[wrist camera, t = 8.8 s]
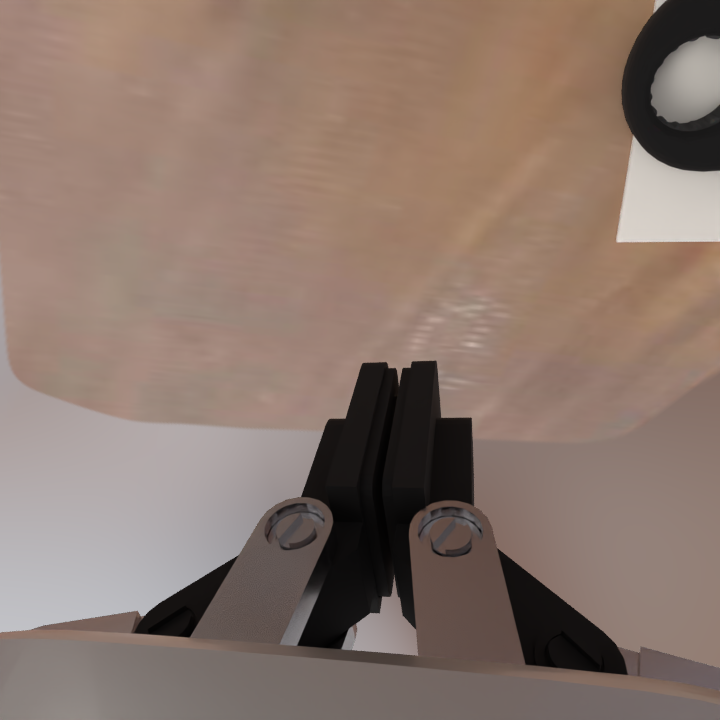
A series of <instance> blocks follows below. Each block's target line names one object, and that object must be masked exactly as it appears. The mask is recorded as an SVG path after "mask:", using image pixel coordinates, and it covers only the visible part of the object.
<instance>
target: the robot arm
mask: <svg viewBox="0 0 720 720" xmlns="http://www.w3.org/2000/svg"><path fill="white" fill-rule="evenodd" d="M473 472H474V471H473V439H472V418H441V410H440V397H439V383H438V370H437V362H436V361H413V362H412V364H411V368H403V369H402V374H401V380H400V385H399V383H398V375H397V370H396V368H388V364H387V362H379V363H363V364H362V366H361V369H360V372H359V376H358V379H357V382H356V386H355V389H354V392H353V396H352V399H351V402H350V406H349V409H348V412H347V416H346V419H329V420H328V422H327V424H326V426H325V429H324V432H323V435H322V438H321V441H320V444H319V447H318V449H317V452H316V455H315V458H314V461H313V464H312V467H311V470H310V473H309V476H308V479H307V482H306V485H305V487H304V491H303V493H302V496H301V497H298V498H293V499H288V500H285V501H283V502H281V503H279V504H277V505H275V506H274V507H272V508H271V509H270V510H268V511H267V512H266V513H265V514H264V516H263V517H262V518H261V519H260V521H259V523H258V524H257V526H256V528H255V529H254V531H253V533H252V534H251V536H250V538H249V539H248V541H247V543H246V544H245V546H244V548H243V549H242V551H241V553H240V554H239V555H238V556H237V557H235V558H234V559H232V560H230V561H228V562H227V563H225V564H224V565H222V566H220V567H218V568H217V569H215V570H213V571H212V572H210V573H209V574H207V575H205V576H204V577H202V578H200V579H199V580H197V581H195V582H194V583H192V584H190V585H189V586H187V587H185V588H184V589H182V590H180V591H179V592H177V593H176V594H174V595H172V596H171V597H169V598H167V599H166V600H164V601H162V602H161V603H159V604H158V605H157V606H155V607H154V608H153V609H151V610H150V611H149V612H148V613H147V614H146V615H145V616H140V614H139V612H138V611H133V612H127V613H121V614H114V615H108V616H102V617H95V618H89V619H82V620H76V621H70V622H63V623H57V624H51V625H45V626H41V627H38V628H34V629H32V630H25V631H12V632H1V633H0V720H720V668H718V667H714V666H710V665H707V664H703V663H699V662H695V661H692V660H688V659H685V658H681V657H677V656H674V655H670V654H666V653H662V652H659V651H655V650H652V649H648V648H644V647H640V652H639V653H638V652H634V651H630V650H627V649H623V648H620V647H617V645H616V644H615V643H614V642H613V641H612V640H611V639H610V638H609V637H608V636H607V635H606V634H605V633H604V632H603V631H602V630H600V629H599V628H598V627H596V626H595V625H594V624H593V623H591V622H590V621H589V620H588V619H586V618H585V617H584V616H583V615H581V614H580V613H579V612H578V611H576V610H575V609H574V608H572V607H571V606H570V605H568V604H567V603H566V602H565V601H564V600H562V599H561V598H560V597H558V596H557V595H556V594H555V593H553V592H552V591H551V590H550V589H548V588H547V587H545V585H543V584H542V583H541V582H539V581H538V580H537V579H536V578H534V577H533V576H532V575H531V574H529V573H528V572H527V571H525V570H524V569H523V568H522V567H520V566H519V565H518V564H517V563H515V562H514V561H513V560H512V559H510V558H509V557H508V556H506V555H505V554H504V553H503V552H501V551H500V550H499V549H498V548H497V546H496V542H495V538H494V534H493V529H492V526H491V524H490V522H489V520H488V518H487V517H486V516H485V515H484V514H483V513H482V511H480V510H479V509H478V508H476V507H474V473H473ZM394 575H395V581H396V588H397V594H398V597H400V600H401V607H402V613H403V616H404V617H405V618H406V619H407V620H408V622H409V623H411V625H412V626H413V627H414V628H415V629H416V632H417V646H418V656H415V655H414V656H413V655H403V654H391V653H378V652H366V651H354V650H352V648H353V645H354V642H355V638H356V632H357V626H356V623H357V622H359V621H360V620H361V619H363V618H364V617H366V616H367V615H368V614H369V613H380V608H381V601H382V596H384V597H390V596H391V594H392V587H393V579H394Z"/></svg>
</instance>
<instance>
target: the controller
mask: <svg viewBox="0 0 720 720" xmlns="http://www.w3.org/2000/svg"><path fill="white" fill-rule="evenodd" d="M703 36H706V37H707V38H711V39H719V38H720V0H666V1H665V2H664V3H663V4H662V5H661V6H660V7H659V8H658V9H657V10H656V12H655V13H654V14H653V15H652V16H651V18H650V19H649V20H648V22H647V23H646V24H645V26H644V27H643V29H642V31H641V32H640V34H639V35H638V37H637V39H636V41H635V43H634V45H633V47H632V50H631V52H630V54H629V57H628V60H627V63H626V66H625V70H624V75H623V80H622V105H623V110H624V114H625V118H626V121H627V123H628V126H629V128H630V130H631V132H632V134H633V135H634V137H635V138H636V139H637V141H638V142H639V144H640V145H641V146H642V147H643V149H644V150H645V151H646V152H647V153H649V154H650V155H651V156H653V157H654V158H655V159H657V160H658V161H660V162H662V163H664V164H666V165H668V166H670V167H674V168H677V169H681V170H687V171H698V172H708V171H720V105H719V106H718V107H717V108H716V109H715V110H713V111H712V112H711V113H709V114H707V115H706V116H704V117H702V118H700V119H698V120H695V121H690V122H688V123H678V122H676V121H674V122H667V120H666V119H665V118H664V117H663V116H657V110H656V109H655V108H654V107H653V106H652V105H651V100H652V97H653V96H652V94H651V85H652V84H653V82H654V76H655V74H656V72H657V70H658V68H659V67H660V66H661V65H662V64H663V62H664V60H665V59H666V57H667V56H668V55H669V54H670V53H671V52H674V51H676V50H677V49H678V47H679V46H680V45H682V44H684V43H686V42H688V41H690V42H692V41H695V40H697V39H698V38H699V37H703Z"/></svg>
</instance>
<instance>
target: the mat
mask: <svg viewBox="0 0 720 720" xmlns="http://www.w3.org/2000/svg"><path fill="white" fill-rule="evenodd" d="M665 1H666V0H655V4H654V10H653V14H654V13H655V12H656V10H657V9H658V8H659V7H660V6H661V5H662V4H663V3H664V2H665ZM651 94H652V96H653V97H652V100H651V105H652V106H653V107H654V108H655V109H656V110H657V116H663V117H664V118H665V119H666V120H667V122H674V121H676V122H678V123H688V122H690V121H695V120H698V119H700V118H702V117H704V116H706V115H707V114H709V113H711V112H712V111H713V110H715V109H716V108H717V107H718V106H719V105H720V38H719V39H711V38H707V37H706V36H703V37H699V38H698V39H697V40H695V41H692V42H690V41H688V42H686V43H684V44H682V45H680V46H679V47H678V49H677V50H676V51H674V52H671V53H670V54H669V55H668V56H667V57H666V59H665V60H664V62H663V64H662V65H661V66H660V67H659V68H658V70H657V72H656V74H655V76H654V82H653V84H652V85H651ZM715 241H720V171H708V172H698V171H687V170H681V169H677V168H674V167H670V166H668V165H666V164H664V163H662V162H660V161H658V160H657V159H655V158H654V157H653V156H651V155H650V154H649V153H647V152H646V151H645V150H644V149H643V147H642V146H641V145H640V144H639V142H638V141H637V139H636V138H635V137H634V135H633V139H632V145H631V151H630V157H629V163H628V169H627V175H626V181H625V188H624V194H623V200H622V206H621V212H620V218H619V224H618V230H617V236H616V242H715Z"/></svg>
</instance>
